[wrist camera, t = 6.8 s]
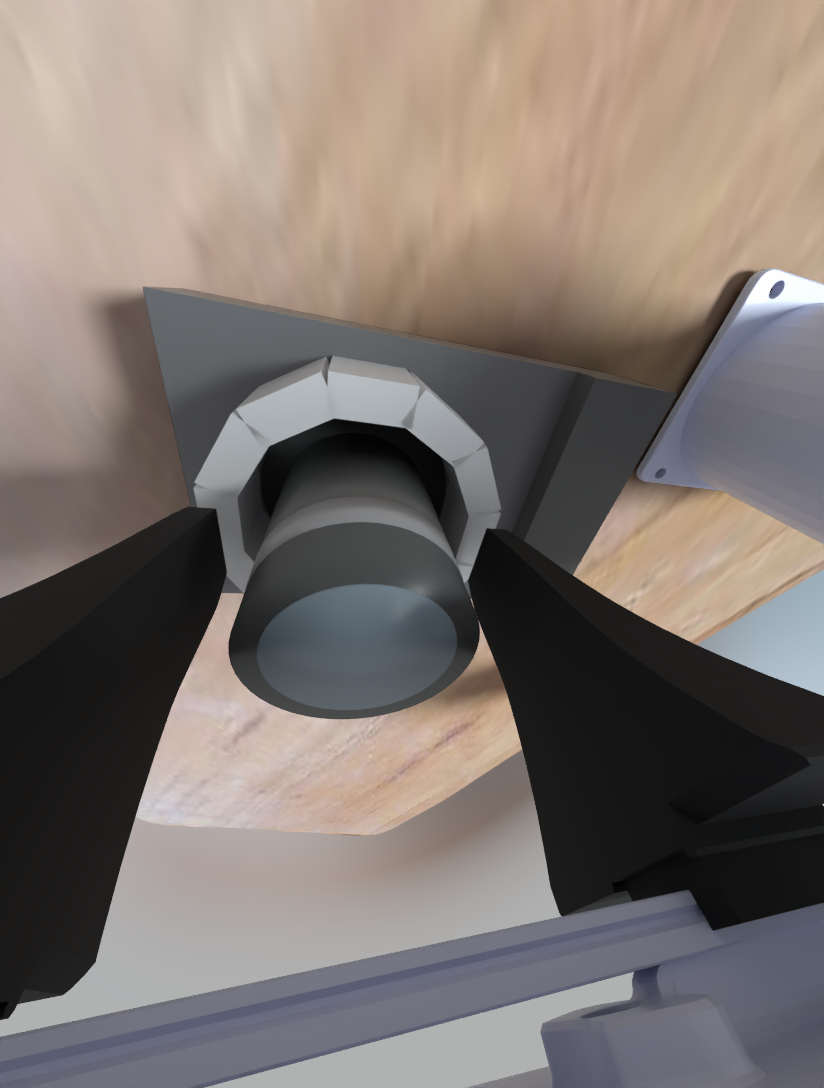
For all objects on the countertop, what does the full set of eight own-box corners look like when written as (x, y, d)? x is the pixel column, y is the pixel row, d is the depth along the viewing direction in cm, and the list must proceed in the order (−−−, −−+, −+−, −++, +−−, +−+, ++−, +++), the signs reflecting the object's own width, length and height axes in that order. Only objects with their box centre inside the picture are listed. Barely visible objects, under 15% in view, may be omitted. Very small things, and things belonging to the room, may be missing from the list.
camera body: (609, 373, 13) (719, 406, 9) (519, 568, 19) (565, 640, 15) (183, 288, 10) (74, 283, 6) (227, 554, 16) (185, 643, 12)
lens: (453, 481, 12) (530, 619, 7) (378, 574, 14) (394, 734, 9) (325, 399, 10) (300, 512, 5) (258, 523, 12) (189, 697, 7)
